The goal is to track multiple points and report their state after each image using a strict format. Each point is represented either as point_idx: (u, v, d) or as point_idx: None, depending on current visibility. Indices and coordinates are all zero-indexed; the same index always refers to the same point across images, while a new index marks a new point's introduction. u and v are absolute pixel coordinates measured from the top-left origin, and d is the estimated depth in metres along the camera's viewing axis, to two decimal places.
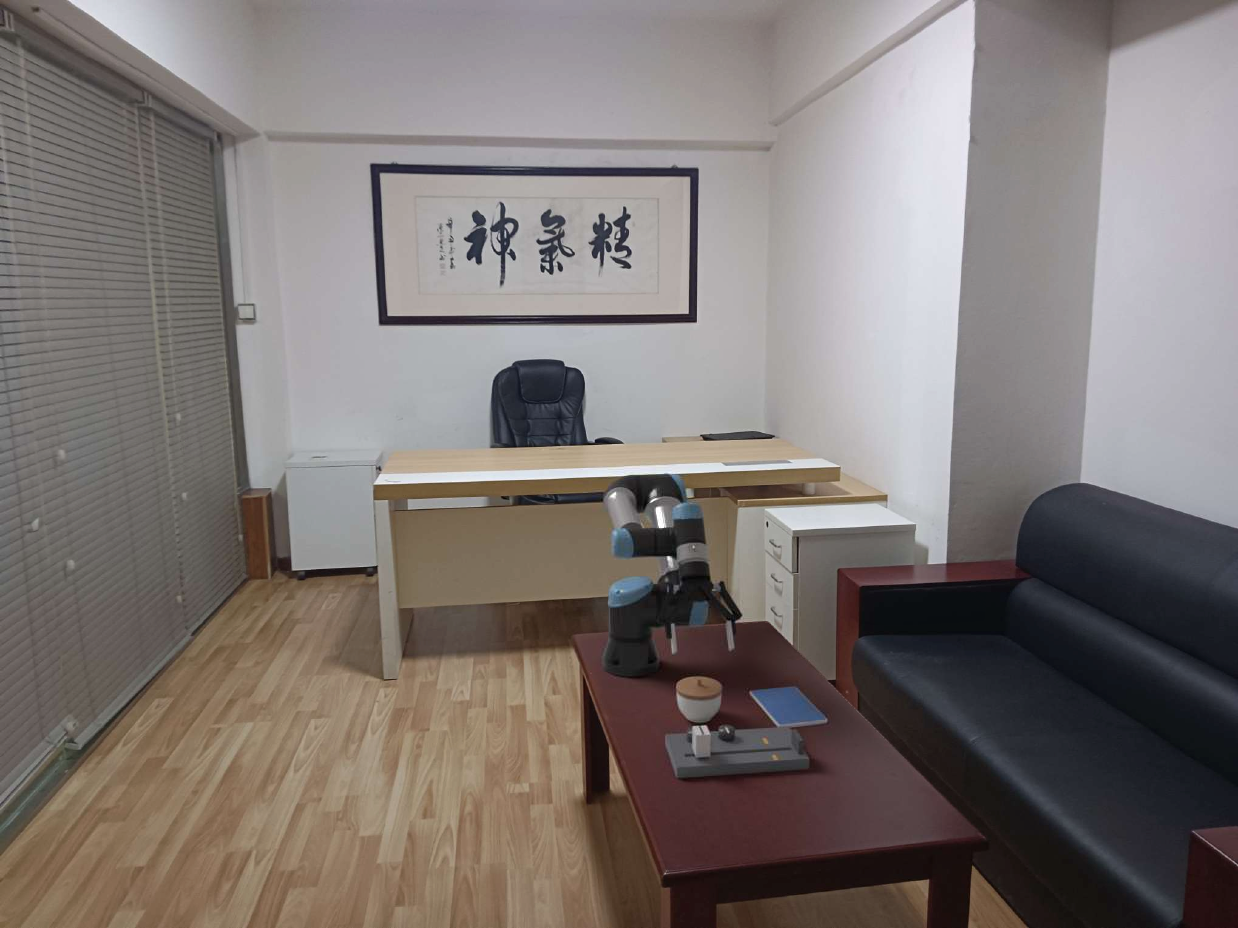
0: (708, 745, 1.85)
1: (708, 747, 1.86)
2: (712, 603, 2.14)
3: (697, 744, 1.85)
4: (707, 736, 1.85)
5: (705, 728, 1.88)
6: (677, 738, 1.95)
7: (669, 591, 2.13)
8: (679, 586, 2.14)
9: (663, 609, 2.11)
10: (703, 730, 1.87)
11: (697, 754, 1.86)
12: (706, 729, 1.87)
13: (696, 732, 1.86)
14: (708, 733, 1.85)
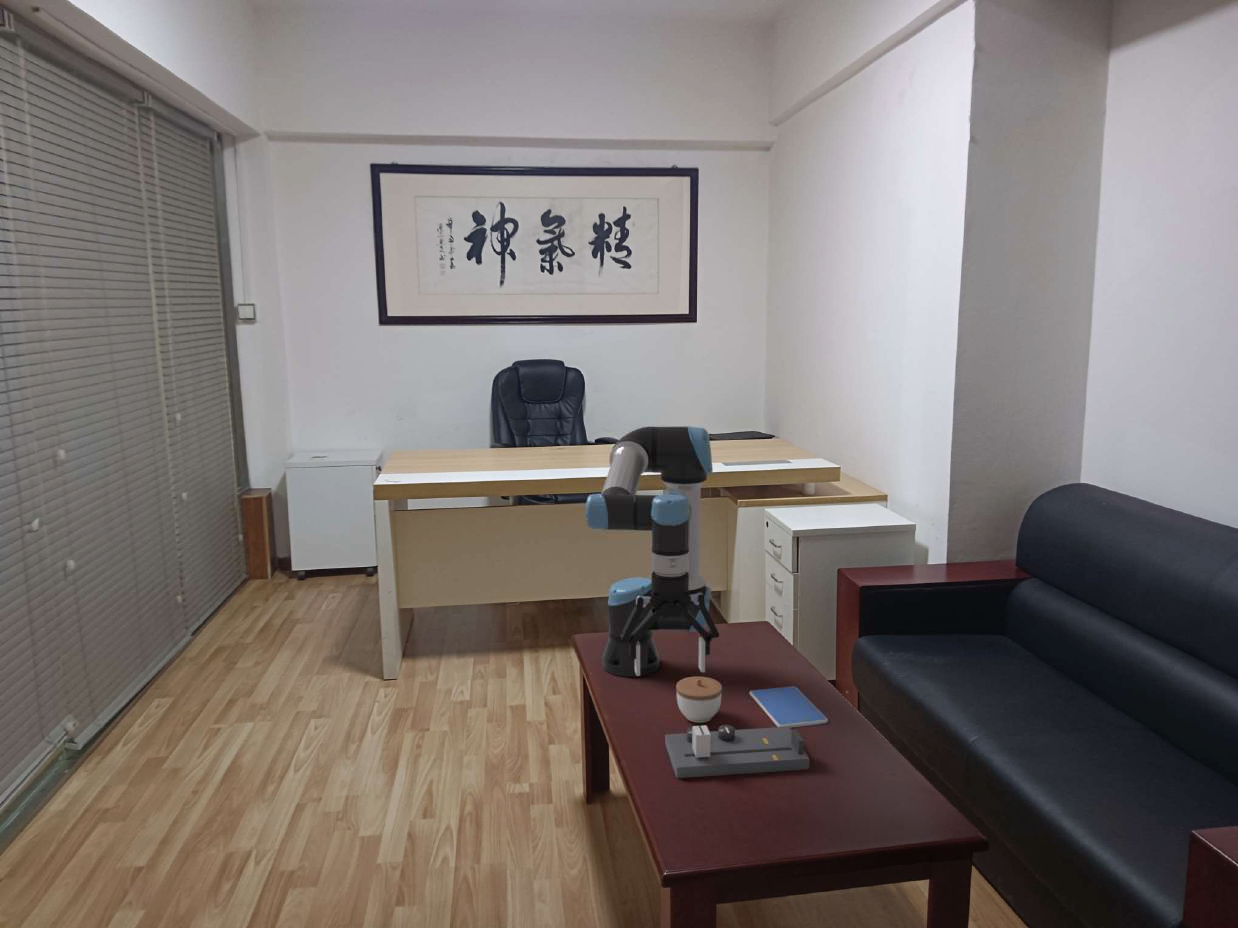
0: (708, 745, 1.85)
1: (708, 747, 1.86)
2: None
3: (697, 744, 1.85)
4: (707, 736, 1.85)
5: (705, 728, 1.88)
6: (677, 738, 1.95)
7: (637, 607, 1.79)
8: (650, 600, 1.80)
9: (629, 629, 1.80)
10: (703, 730, 1.87)
11: (697, 754, 1.86)
12: (706, 729, 1.87)
13: (696, 732, 1.86)
14: (708, 733, 1.85)
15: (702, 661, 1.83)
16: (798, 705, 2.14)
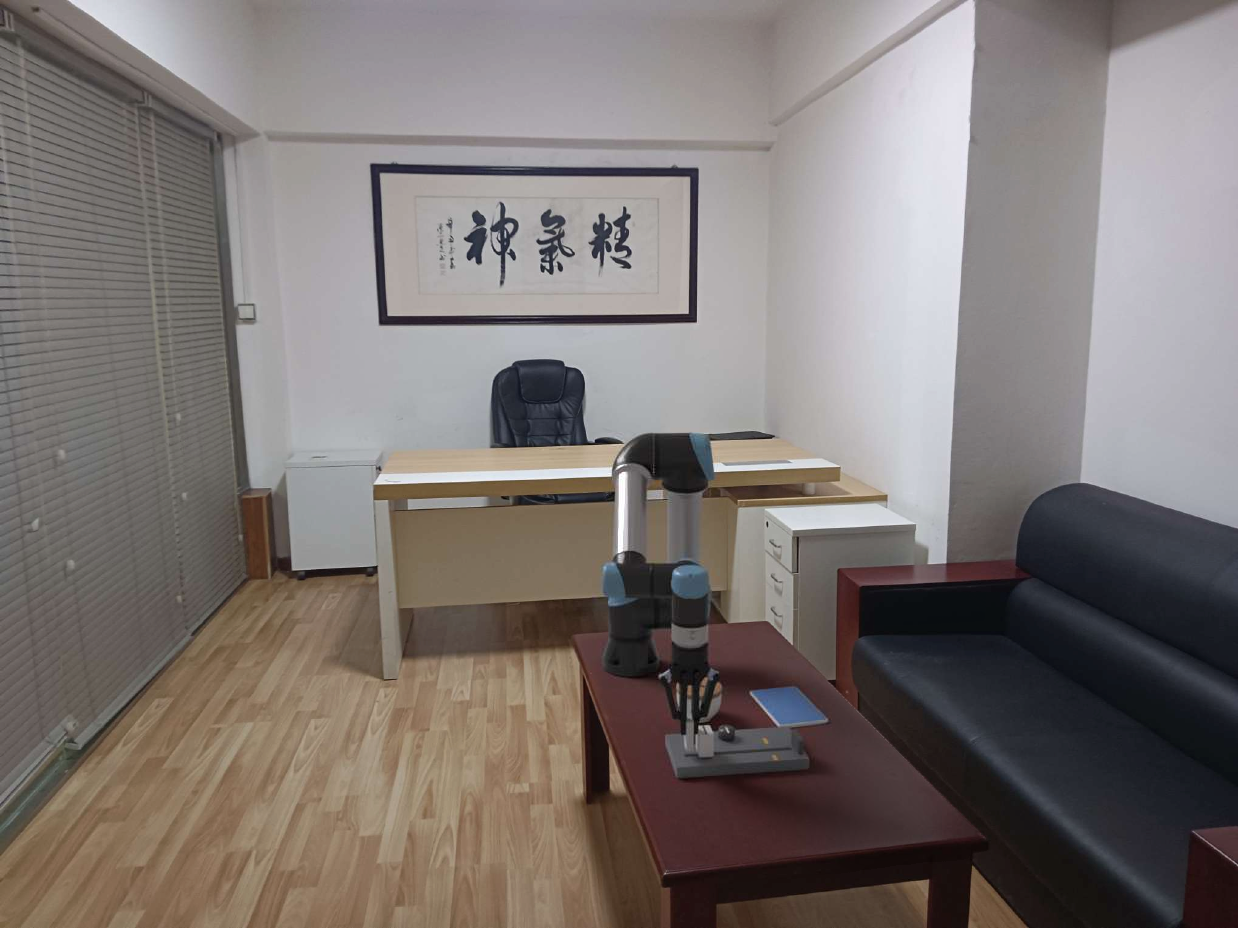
0: (711, 745, 1.86)
1: (711, 747, 1.86)
2: (692, 690, 1.85)
3: (700, 744, 1.85)
4: (710, 736, 1.85)
5: (708, 728, 1.88)
6: (677, 738, 1.95)
7: (665, 686, 1.83)
8: (671, 673, 1.83)
9: (672, 706, 1.84)
10: (706, 730, 1.87)
11: (700, 754, 1.86)
12: (709, 729, 1.87)
13: (699, 732, 1.86)
14: (711, 733, 1.86)
15: (691, 740, 1.85)
16: (798, 705, 2.14)
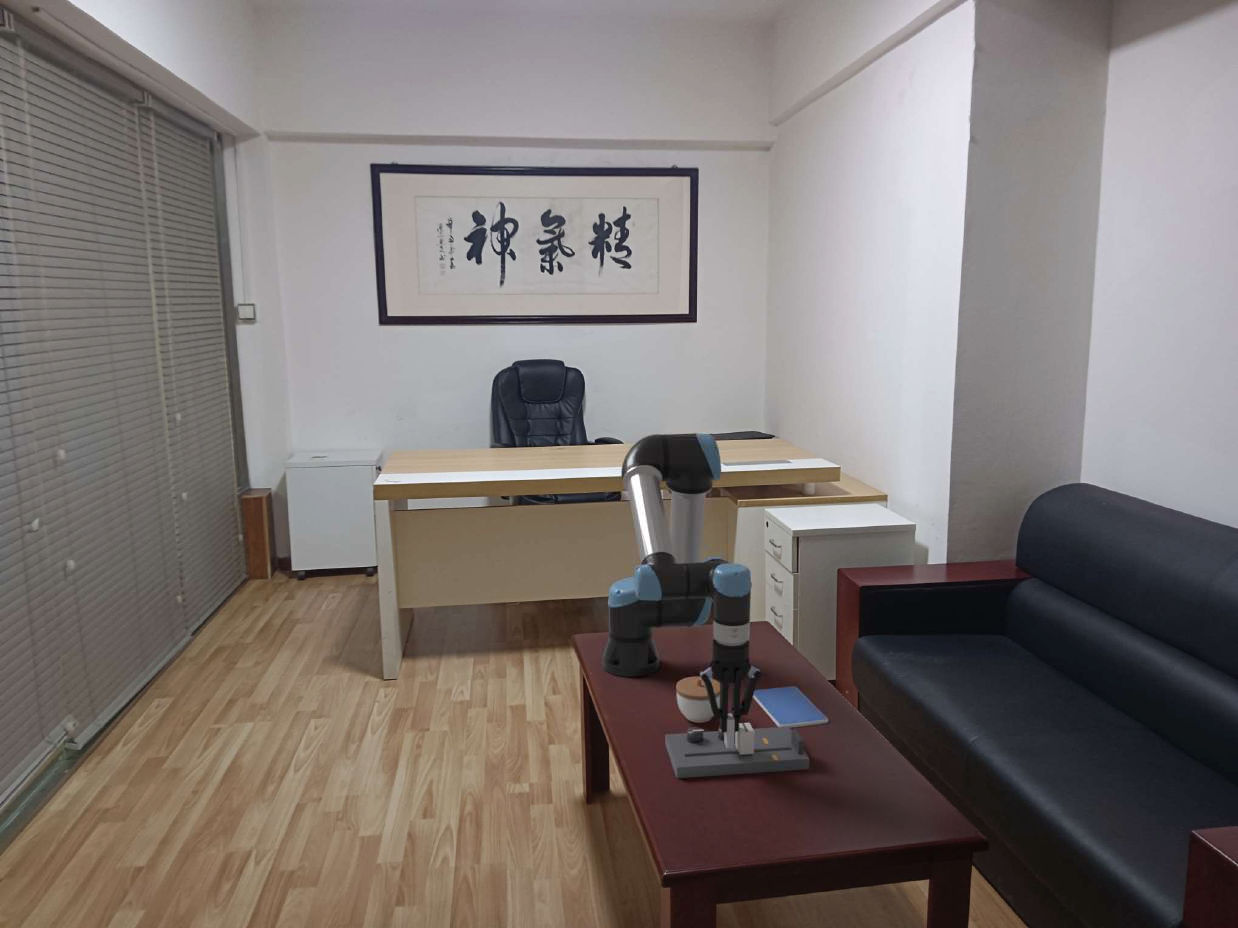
0: (752, 742, 1.87)
1: (752, 745, 1.87)
2: (733, 687, 1.86)
3: (741, 741, 1.86)
4: (751, 733, 1.86)
5: (748, 725, 1.89)
6: (677, 738, 1.95)
7: (706, 684, 1.84)
8: (712, 670, 1.84)
9: (713, 704, 1.85)
10: (747, 727, 1.88)
11: (741, 751, 1.87)
12: (750, 726, 1.88)
13: (740, 729, 1.87)
14: (752, 730, 1.87)
15: (731, 737, 1.86)
16: (798, 705, 2.14)
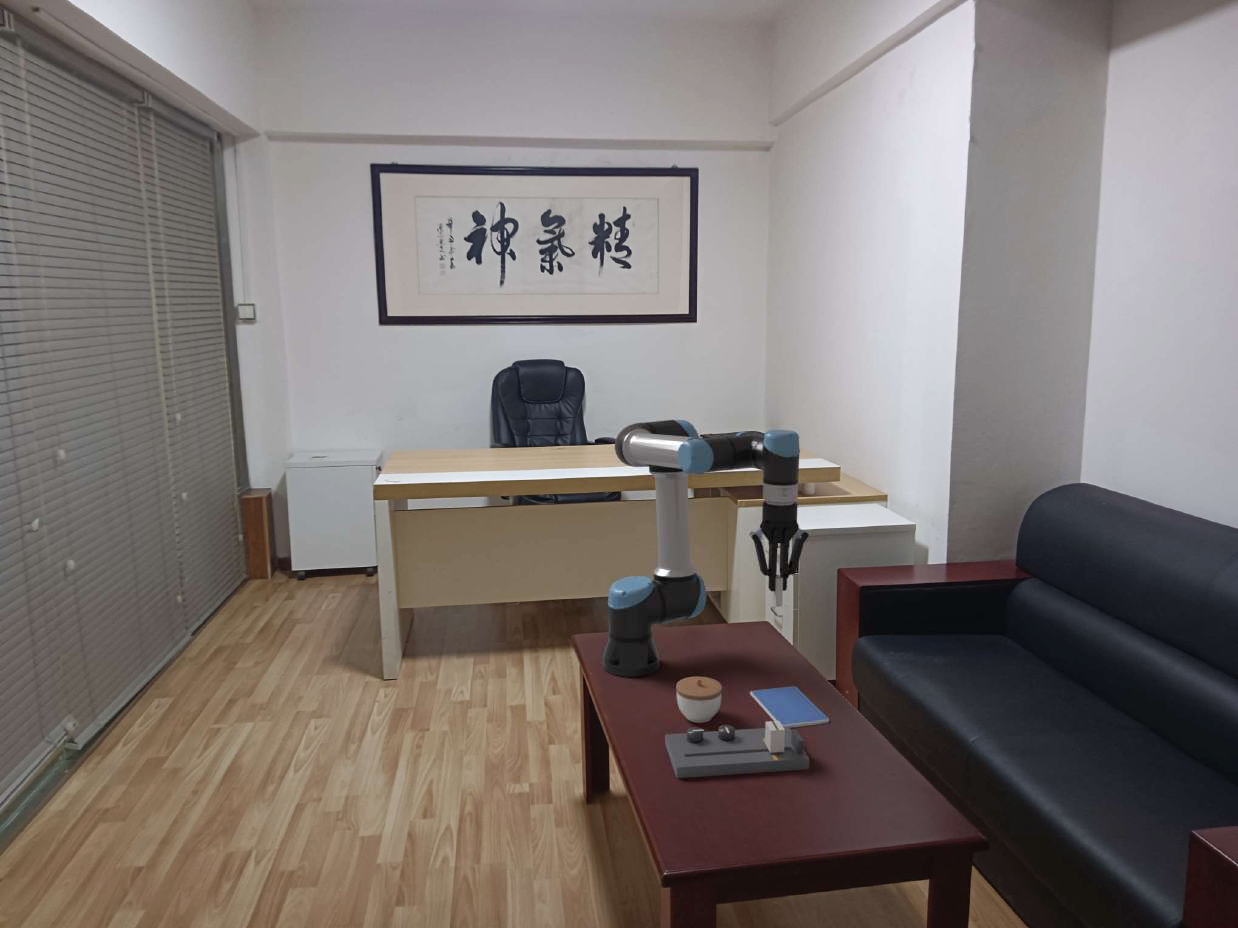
0: (782, 740, 1.87)
1: (782, 743, 1.87)
2: (781, 548, 1.97)
3: (771, 739, 1.87)
4: (781, 731, 1.87)
5: (778, 723, 1.89)
6: (677, 738, 1.95)
7: (757, 543, 1.95)
8: (762, 531, 1.95)
9: (763, 563, 1.96)
10: (777, 725, 1.89)
11: (771, 749, 1.87)
12: (779, 724, 1.89)
13: (770, 727, 1.88)
14: (782, 728, 1.87)
15: (780, 596, 1.97)
16: (799, 705, 2.14)
